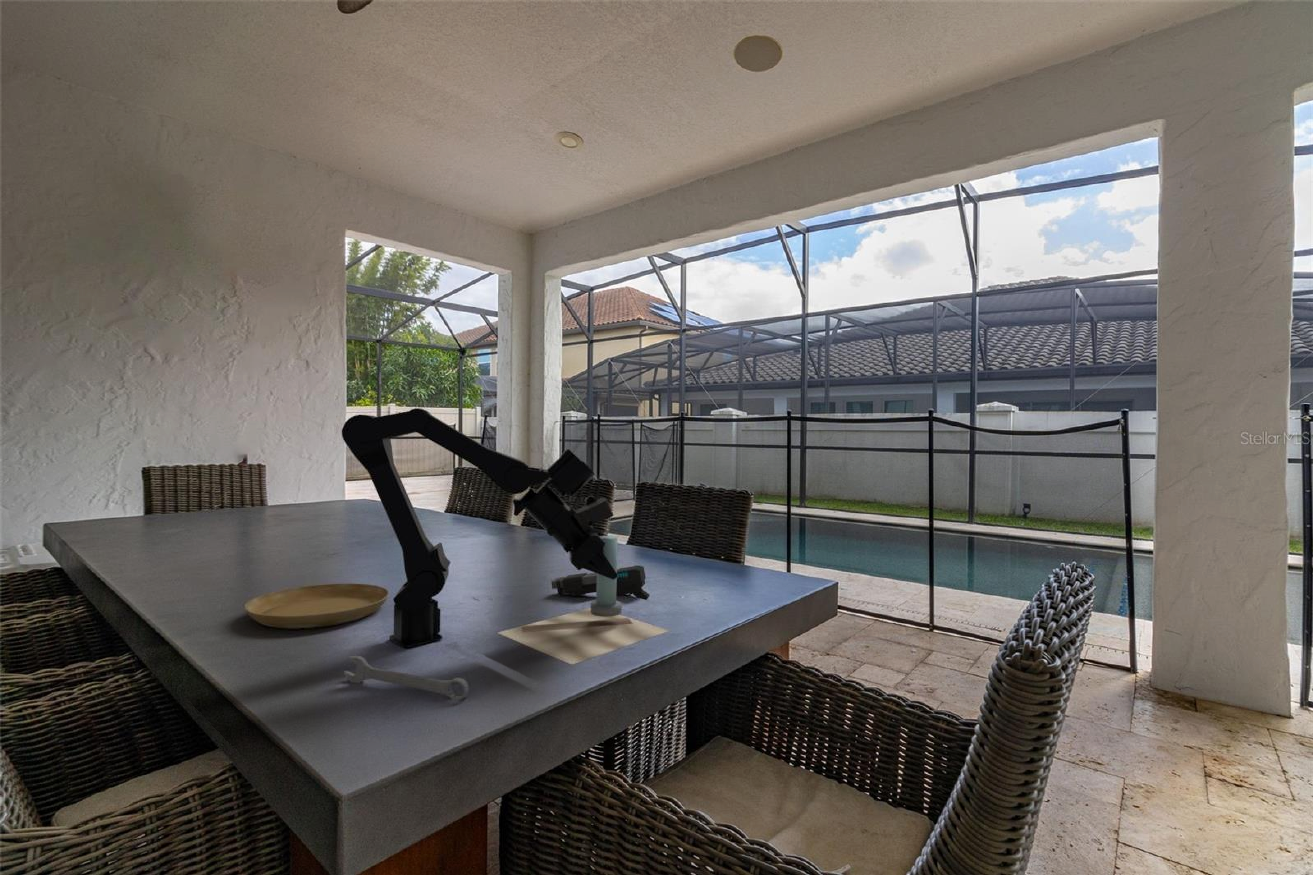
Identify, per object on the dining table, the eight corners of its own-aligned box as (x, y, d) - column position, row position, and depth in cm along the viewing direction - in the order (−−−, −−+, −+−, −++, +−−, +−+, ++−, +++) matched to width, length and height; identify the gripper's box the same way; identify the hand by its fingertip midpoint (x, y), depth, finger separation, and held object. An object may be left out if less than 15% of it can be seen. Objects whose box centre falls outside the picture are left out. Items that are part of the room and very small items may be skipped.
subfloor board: (571, 671, 90) (571, 664, 90) (497, 638, 103) (497, 632, 103) (670, 636, 106) (670, 630, 106) (594, 611, 119) (594, 606, 119)
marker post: (610, 618, 106) (611, 541, 106) (584, 613, 109) (585, 538, 108) (627, 610, 111) (628, 537, 111) (602, 605, 113) (603, 534, 113)
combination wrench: (470, 674, 80) (350, 652, 86) (464, 678, 79) (342, 655, 85) (469, 702, 81) (349, 678, 87) (463, 707, 79) (342, 681, 85)
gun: (649, 602, 126) (634, 556, 126) (563, 627, 129) (549, 582, 130) (653, 596, 130) (639, 552, 131) (570, 621, 134) (556, 577, 134)
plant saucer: (339, 591, 132) (339, 576, 132) (415, 608, 121) (415, 591, 121) (216, 621, 111) (216, 603, 111) (295, 644, 100) (295, 624, 100)
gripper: (593, 487, 99) (657, 553, 102) (581, 478, 118) (635, 534, 120) (543, 536, 98) (610, 601, 100) (539, 519, 116) (595, 575, 118)
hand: (614, 575), depth 110 cm, fingers closed on marker post, 4 cm apart
